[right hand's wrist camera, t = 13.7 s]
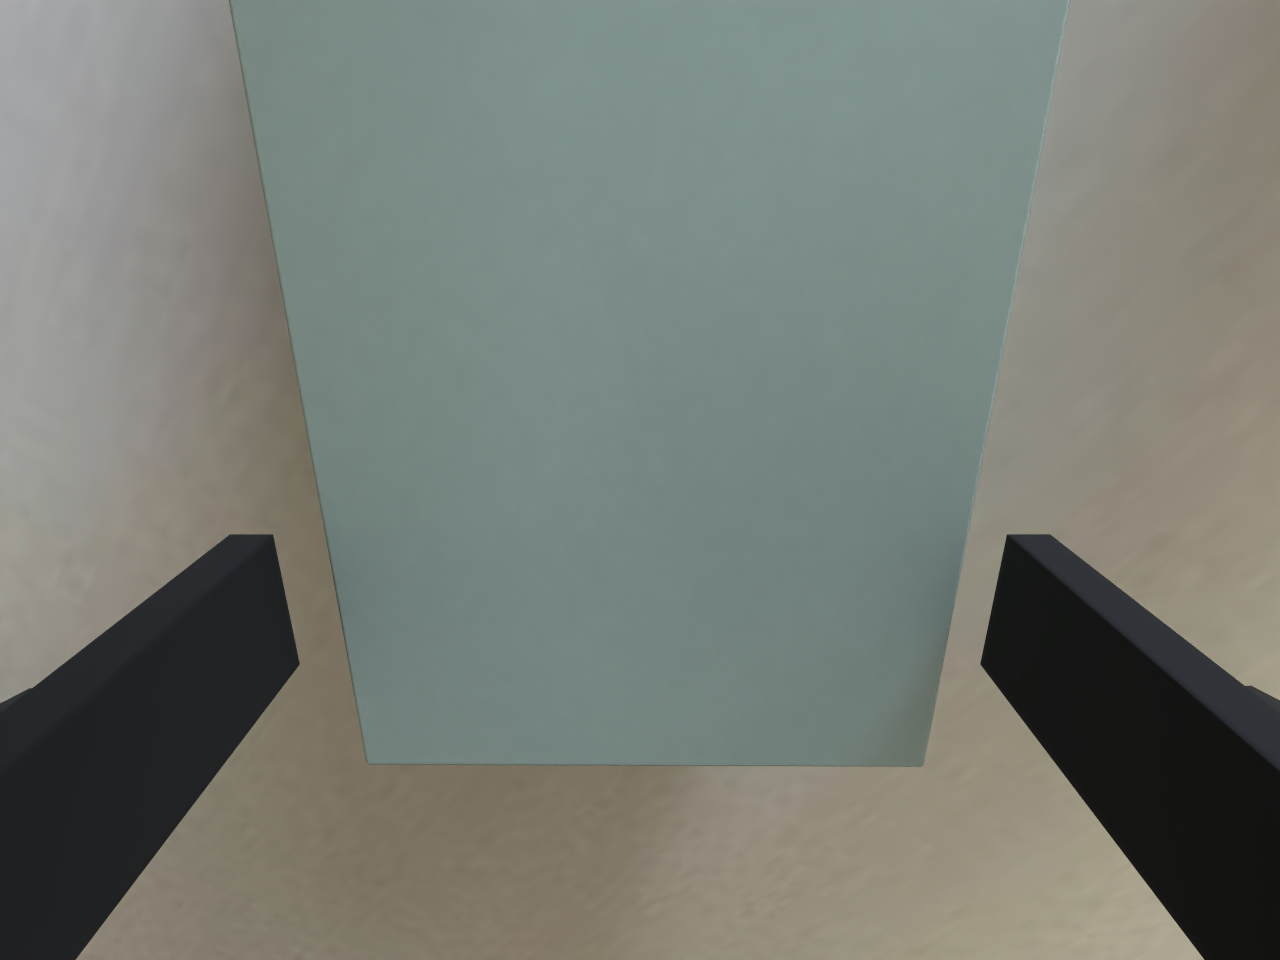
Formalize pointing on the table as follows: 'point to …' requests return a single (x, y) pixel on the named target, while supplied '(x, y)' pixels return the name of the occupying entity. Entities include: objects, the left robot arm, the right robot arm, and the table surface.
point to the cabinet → (647, 356)
